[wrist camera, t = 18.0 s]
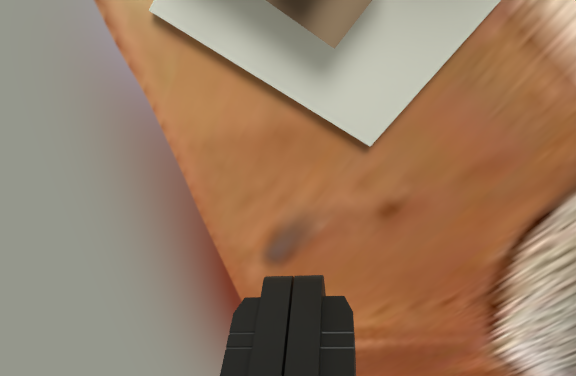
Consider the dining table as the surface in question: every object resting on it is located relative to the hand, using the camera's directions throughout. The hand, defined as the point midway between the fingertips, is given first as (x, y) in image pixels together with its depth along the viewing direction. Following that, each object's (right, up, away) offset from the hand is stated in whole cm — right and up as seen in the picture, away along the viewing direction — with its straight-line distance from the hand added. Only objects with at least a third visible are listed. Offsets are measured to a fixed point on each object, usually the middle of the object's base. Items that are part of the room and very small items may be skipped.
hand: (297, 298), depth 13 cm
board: (+2, +17, +23) cm, 29 cm away
